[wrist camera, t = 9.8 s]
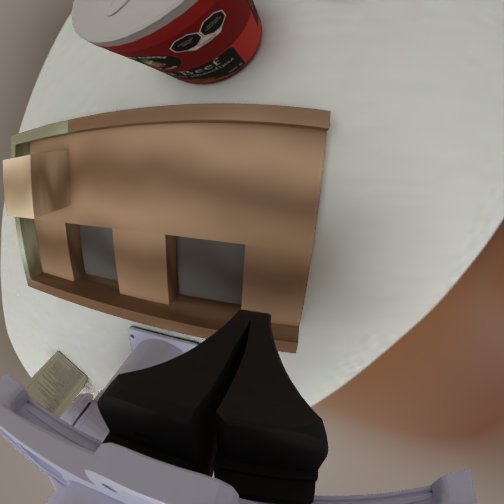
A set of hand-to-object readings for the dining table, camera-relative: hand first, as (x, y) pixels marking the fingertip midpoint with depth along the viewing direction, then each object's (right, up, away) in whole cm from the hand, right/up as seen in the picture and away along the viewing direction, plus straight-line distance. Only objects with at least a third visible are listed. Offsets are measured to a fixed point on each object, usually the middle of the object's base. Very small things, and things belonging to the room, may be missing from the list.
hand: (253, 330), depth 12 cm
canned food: (-3, +19, +4) cm, 20 cm away
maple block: (-18, +10, +8) cm, 22 cm away
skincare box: (-27, -14, +22) cm, 38 cm away
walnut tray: (-9, +7, +10) cm, 15 cm away
